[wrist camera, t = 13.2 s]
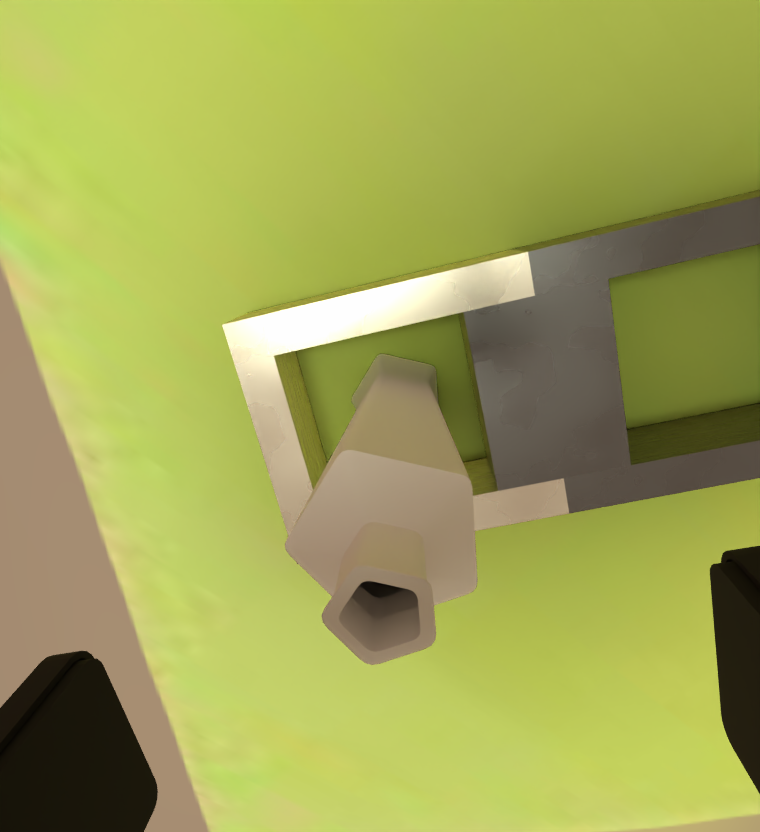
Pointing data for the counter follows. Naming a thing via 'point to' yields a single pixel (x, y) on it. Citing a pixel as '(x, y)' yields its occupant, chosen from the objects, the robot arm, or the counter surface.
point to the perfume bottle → (390, 517)
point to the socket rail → (519, 370)
